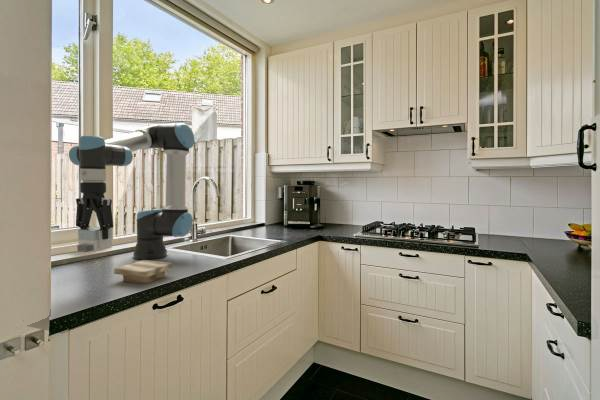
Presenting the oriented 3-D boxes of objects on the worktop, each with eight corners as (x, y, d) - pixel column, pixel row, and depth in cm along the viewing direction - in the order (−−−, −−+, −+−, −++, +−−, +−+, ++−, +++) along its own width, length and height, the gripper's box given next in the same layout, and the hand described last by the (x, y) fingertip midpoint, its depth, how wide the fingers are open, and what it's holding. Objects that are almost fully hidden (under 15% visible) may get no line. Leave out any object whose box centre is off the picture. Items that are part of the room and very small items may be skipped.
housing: (97, 245, 118) (96, 226, 117) (112, 247, 116) (111, 227, 115) (74, 250, 110) (73, 230, 109) (89, 252, 108) (89, 231, 107)
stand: (143, 272, 132) (143, 259, 132) (172, 275, 128) (172, 263, 127) (114, 281, 119) (114, 268, 119) (145, 286, 114) (144, 272, 114)
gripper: (61, 181, 111) (63, 247, 113) (105, 182, 105) (107, 252, 106) (82, 181, 118) (83, 243, 120) (124, 182, 112) (126, 247, 114)
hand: (94, 247), depth 113 cm, fingers closed on housing, 7 cm apart
